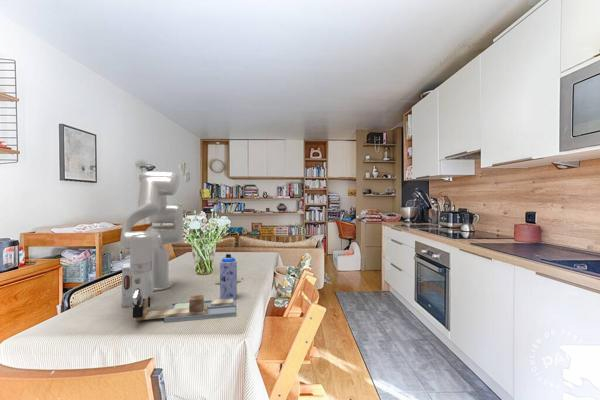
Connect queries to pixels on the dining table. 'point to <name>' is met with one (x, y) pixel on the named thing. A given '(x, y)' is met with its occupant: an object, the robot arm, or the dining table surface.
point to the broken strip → (221, 302)
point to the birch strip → (167, 312)
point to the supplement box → (127, 286)
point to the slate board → (211, 313)
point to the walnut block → (196, 303)
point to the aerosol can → (228, 277)
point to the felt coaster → (181, 306)
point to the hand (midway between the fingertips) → (141, 312)
